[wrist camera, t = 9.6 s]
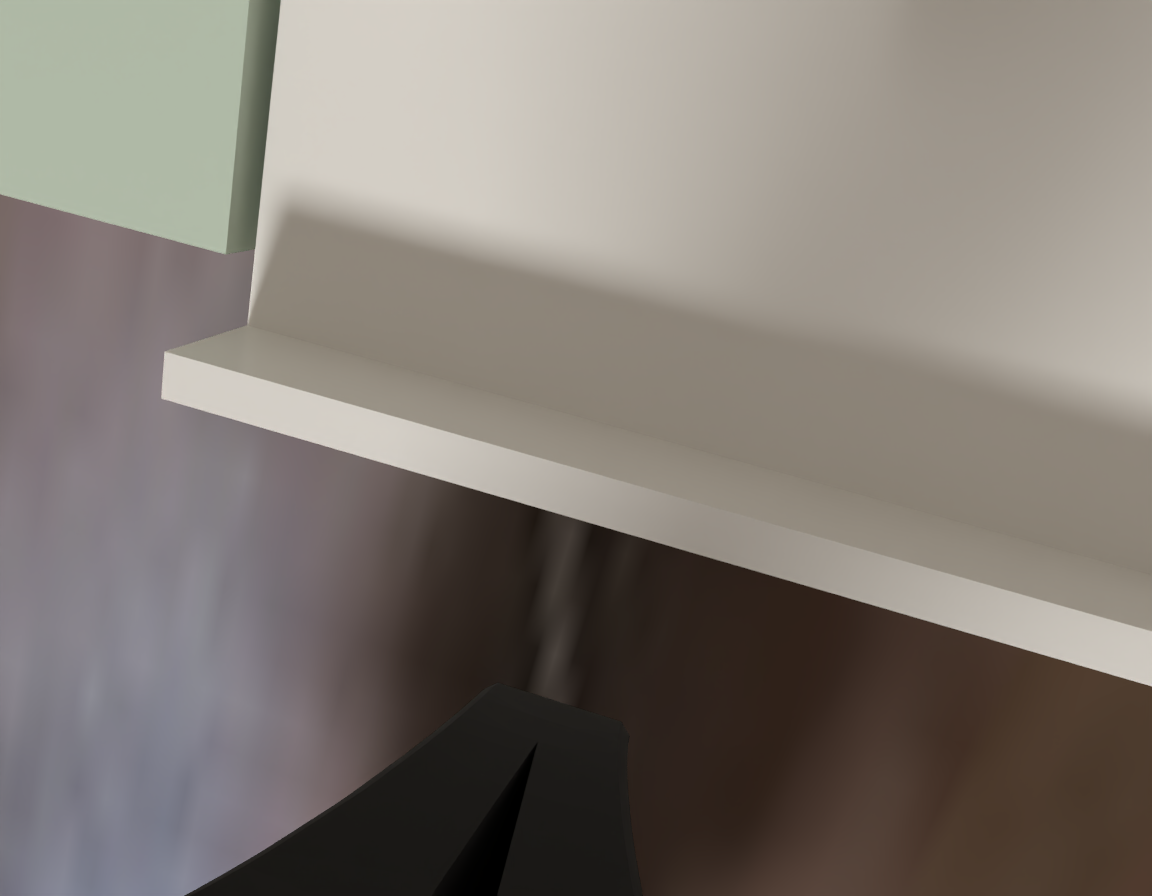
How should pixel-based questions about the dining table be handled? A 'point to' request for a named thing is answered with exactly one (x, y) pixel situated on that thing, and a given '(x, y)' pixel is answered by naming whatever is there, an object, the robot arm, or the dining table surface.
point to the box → (734, 285)
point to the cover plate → (140, 112)
